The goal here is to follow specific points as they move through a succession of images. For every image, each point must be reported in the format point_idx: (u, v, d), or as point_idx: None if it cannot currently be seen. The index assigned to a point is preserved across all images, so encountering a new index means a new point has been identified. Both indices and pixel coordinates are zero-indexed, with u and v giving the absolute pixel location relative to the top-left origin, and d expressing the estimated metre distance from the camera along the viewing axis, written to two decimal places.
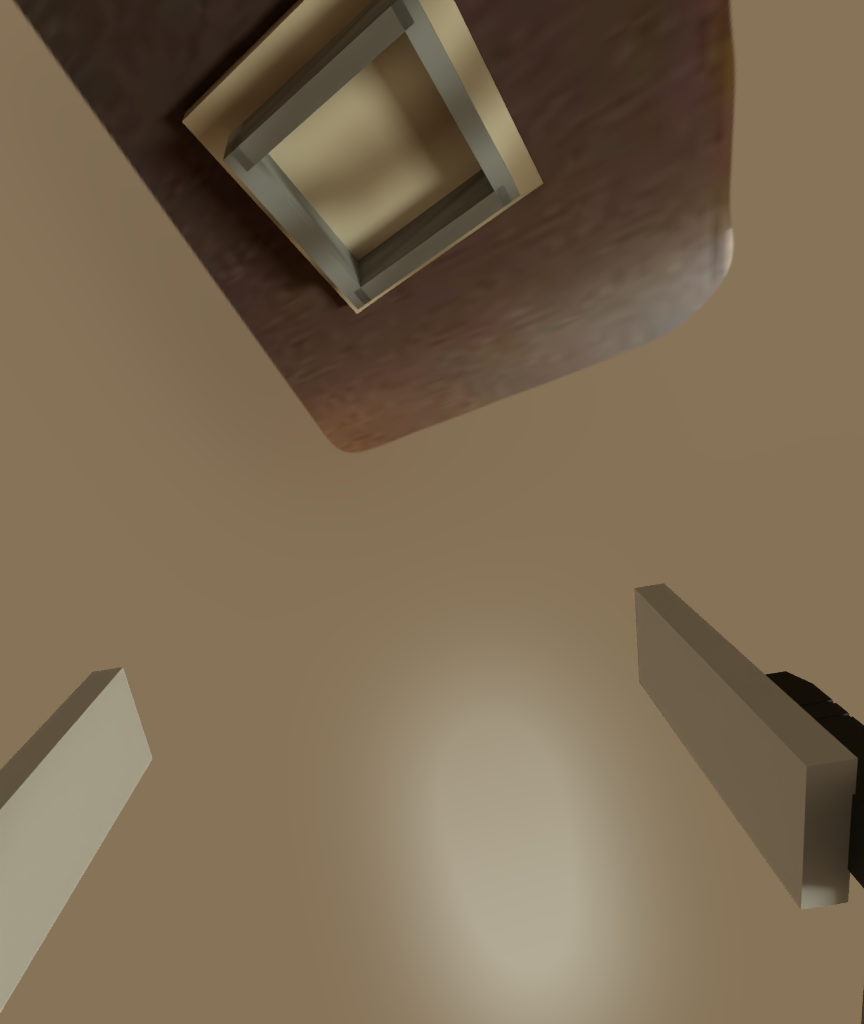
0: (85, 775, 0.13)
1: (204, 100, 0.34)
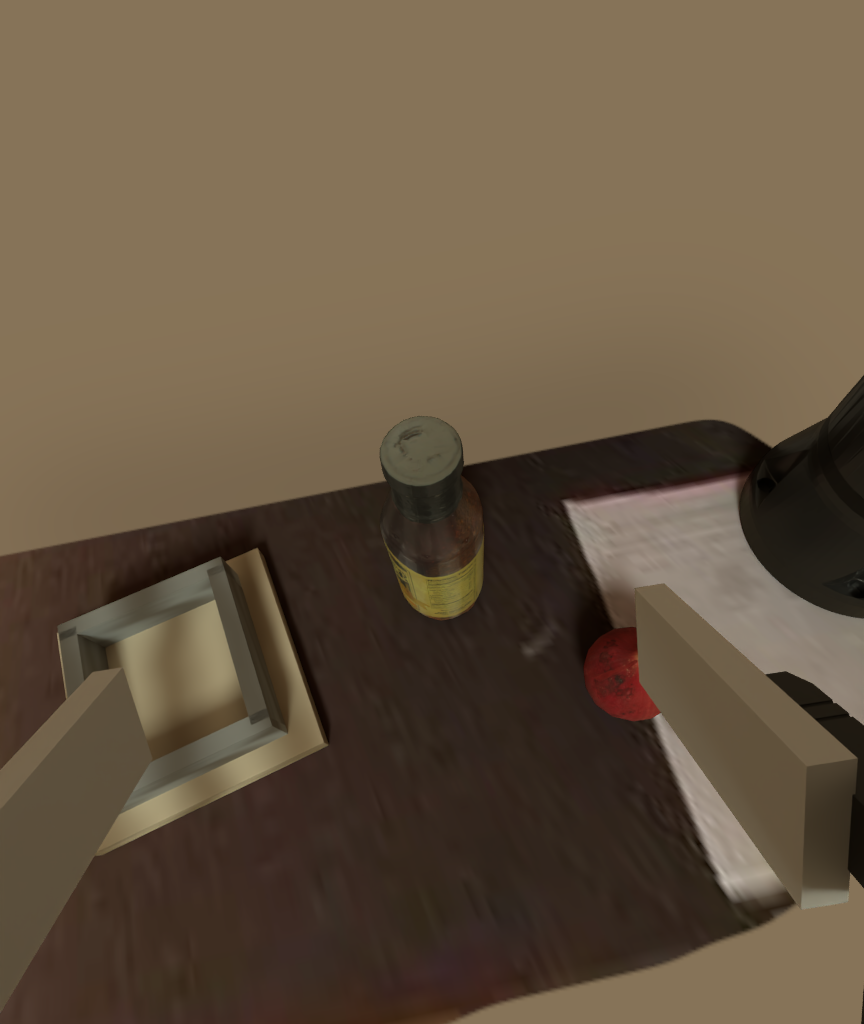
0: (85, 775, 0.13)
1: (263, 567, 0.46)
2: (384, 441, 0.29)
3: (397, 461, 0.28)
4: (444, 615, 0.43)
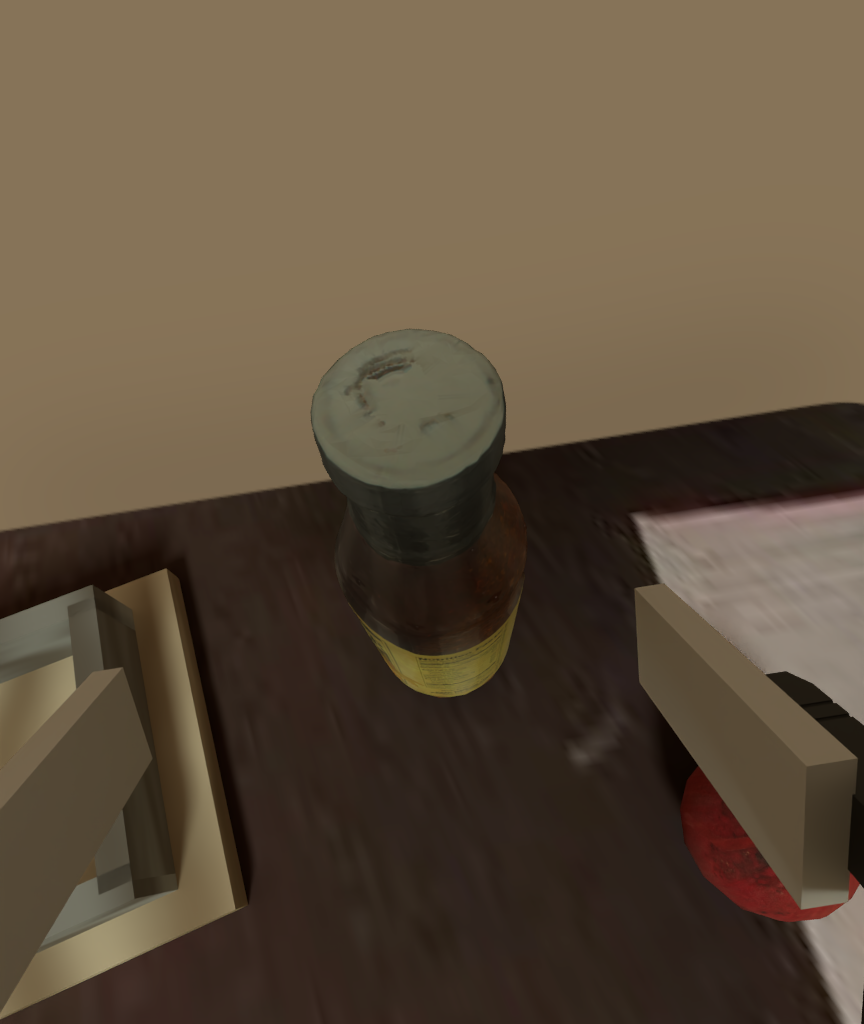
0: (85, 775, 0.13)
1: (172, 599, 0.30)
2: (323, 381, 0.12)
3: (349, 427, 0.12)
4: (446, 695, 0.26)
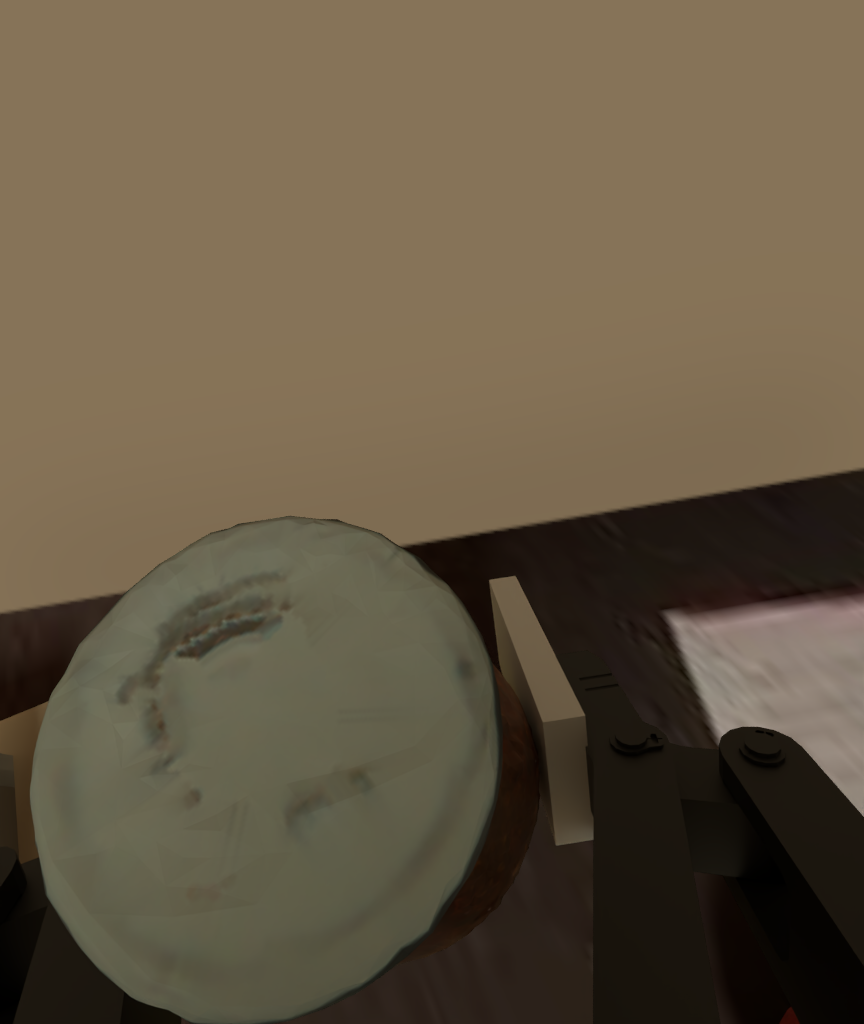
0: None
1: None
2: (77, 659, 0.05)
3: (112, 808, 0.05)
4: None
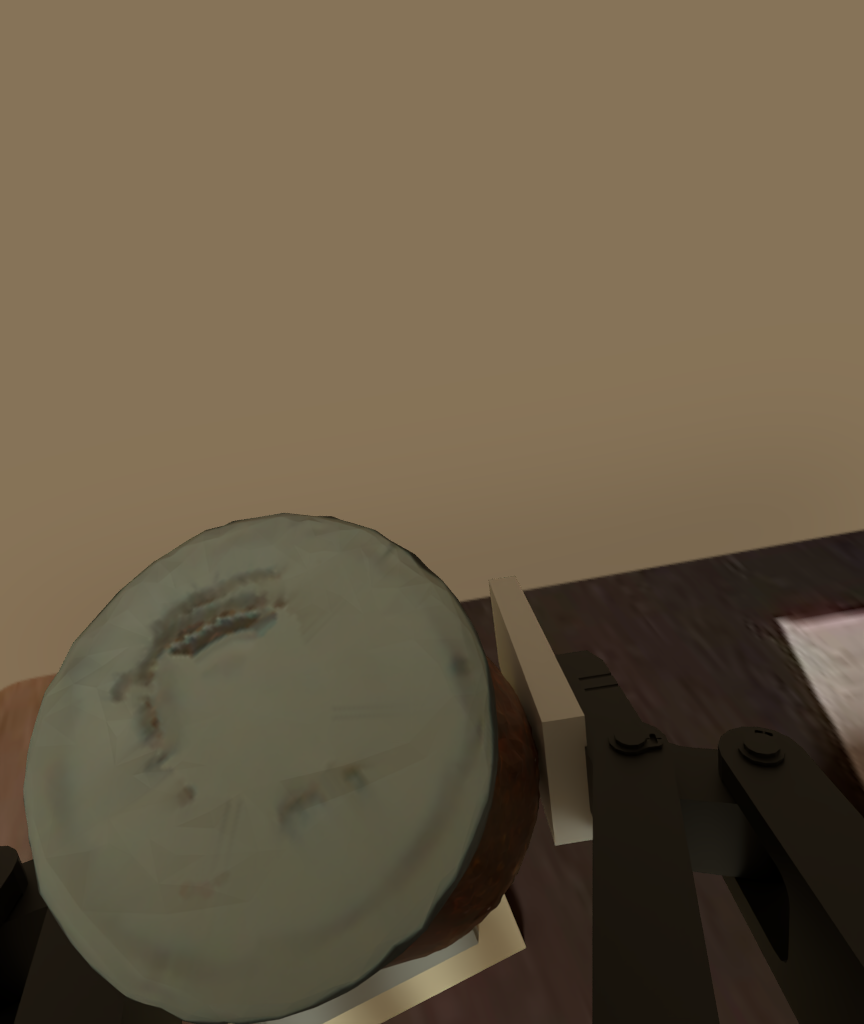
0: None
1: None
2: (71, 657, 0.05)
3: (105, 806, 0.05)
4: None
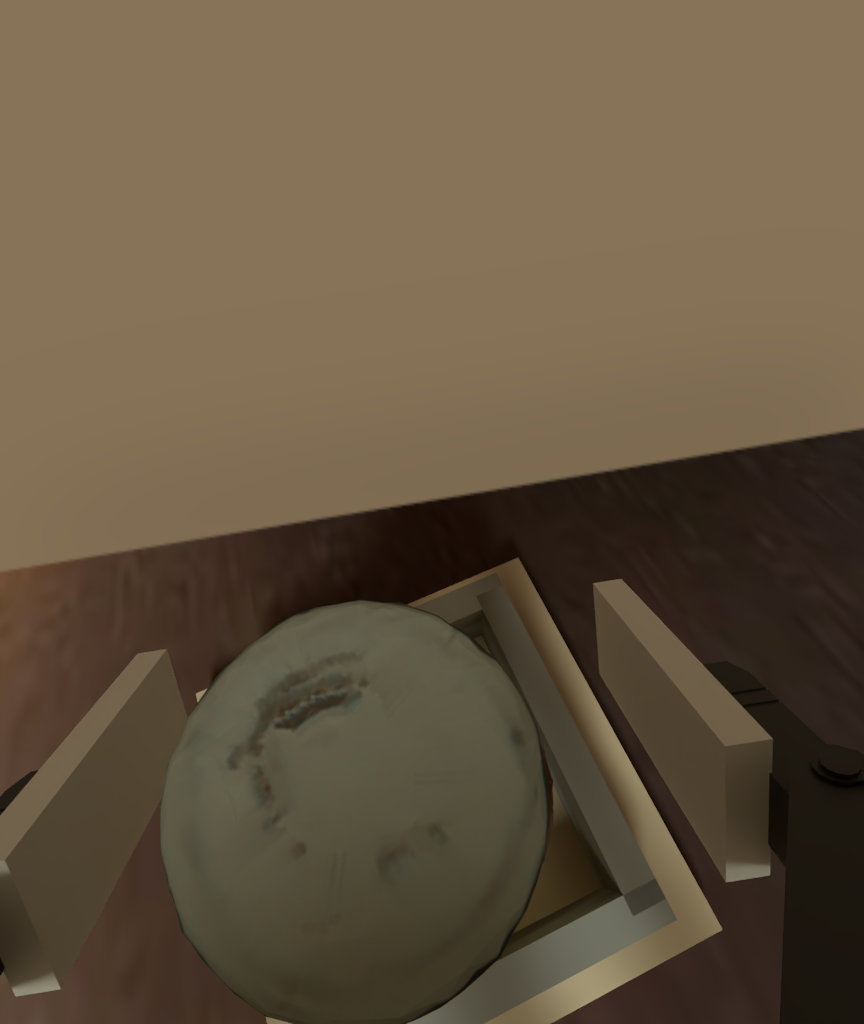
0: (138, 749, 0.13)
1: (535, 590, 0.28)
2: (190, 730, 0.06)
3: (233, 859, 0.06)
4: None
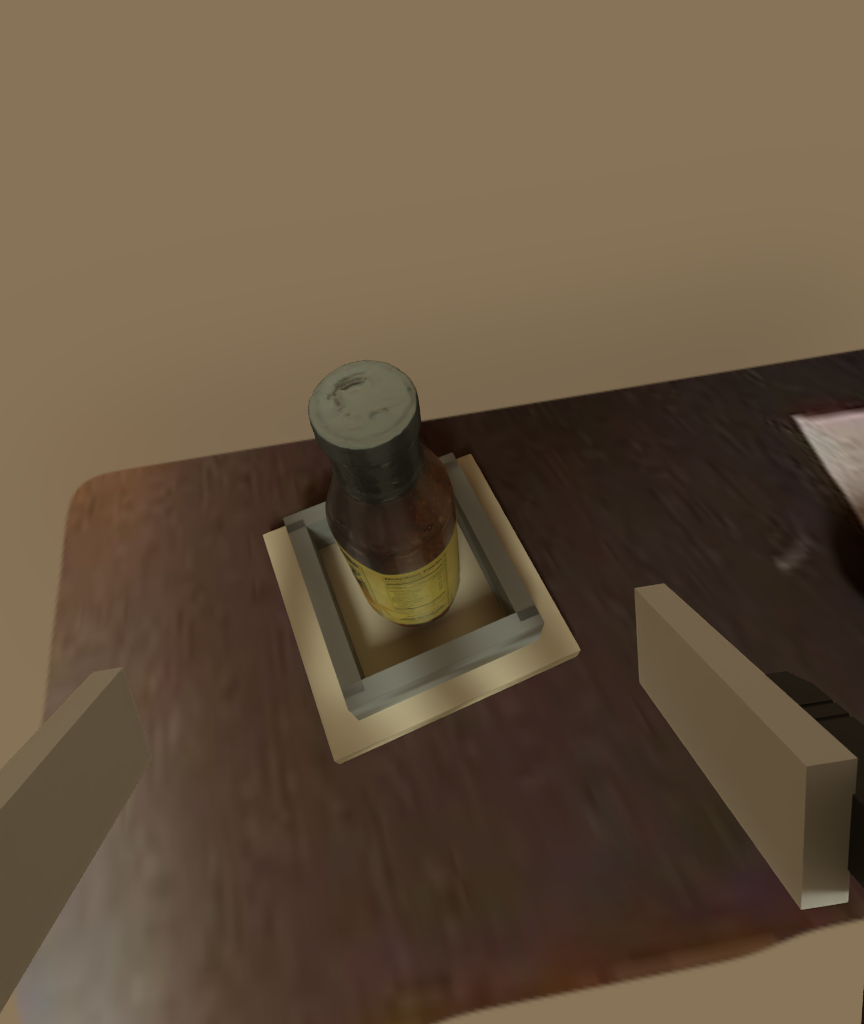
0: (85, 775, 0.13)
1: (481, 473, 0.43)
2: (315, 392, 0.21)
3: (330, 417, 0.21)
4: (412, 622, 0.35)
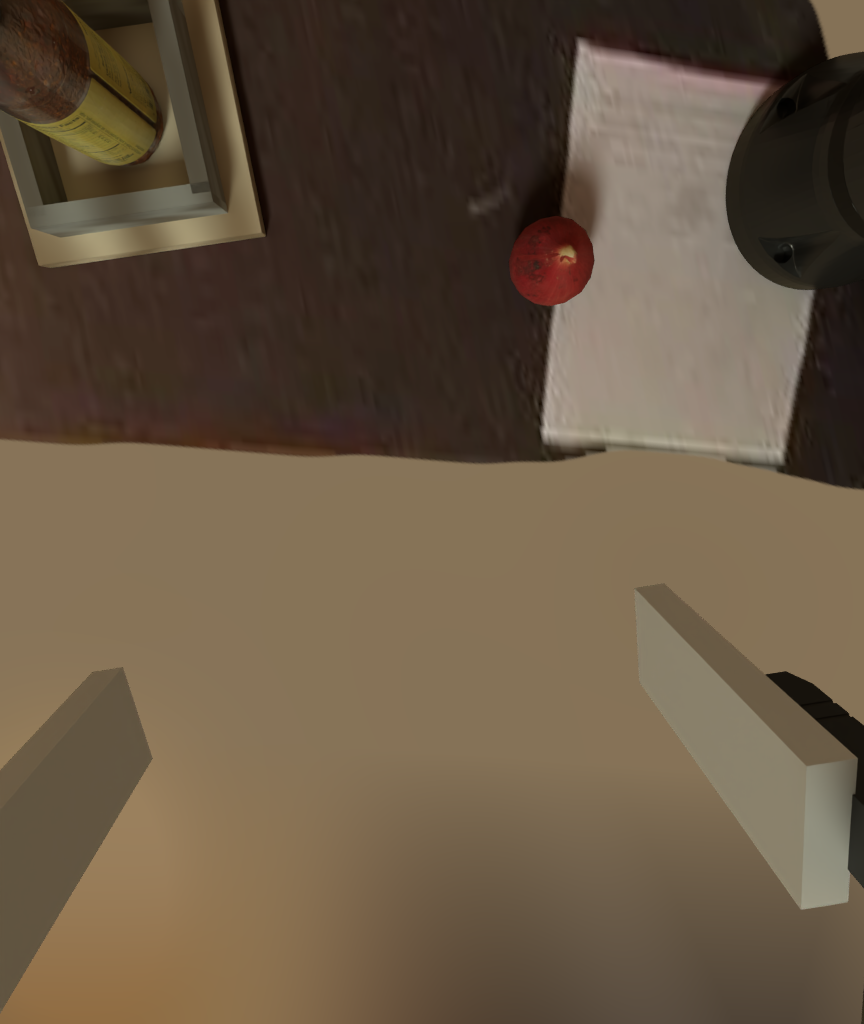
0: (85, 775, 0.13)
1: None
2: None
3: None
4: (102, 162, 0.39)
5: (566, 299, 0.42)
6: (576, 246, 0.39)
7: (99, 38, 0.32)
